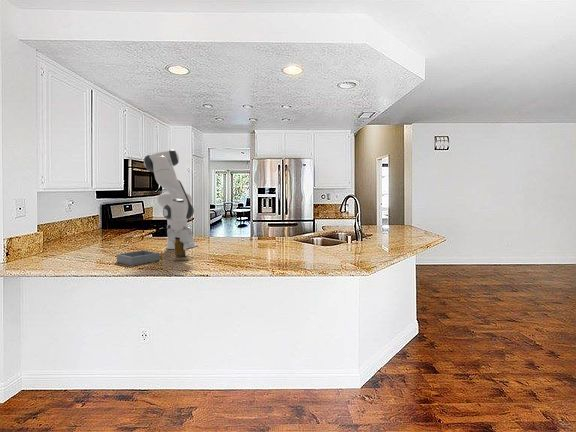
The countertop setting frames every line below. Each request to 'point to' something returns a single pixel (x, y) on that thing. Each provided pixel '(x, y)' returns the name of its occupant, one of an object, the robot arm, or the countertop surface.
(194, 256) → the countertop surface
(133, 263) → the bin
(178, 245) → the condiment
